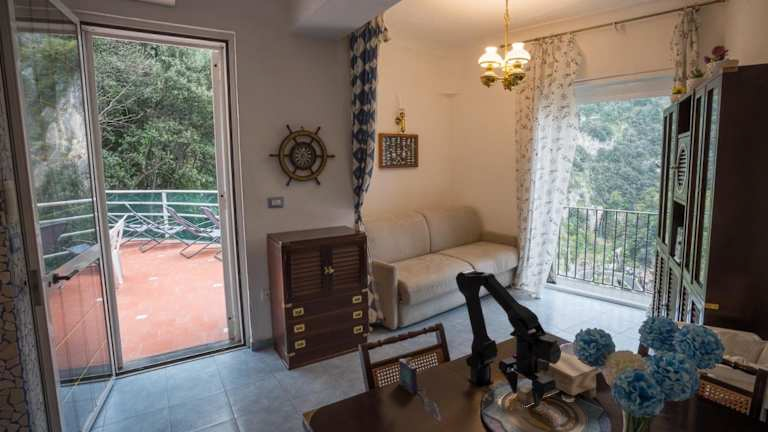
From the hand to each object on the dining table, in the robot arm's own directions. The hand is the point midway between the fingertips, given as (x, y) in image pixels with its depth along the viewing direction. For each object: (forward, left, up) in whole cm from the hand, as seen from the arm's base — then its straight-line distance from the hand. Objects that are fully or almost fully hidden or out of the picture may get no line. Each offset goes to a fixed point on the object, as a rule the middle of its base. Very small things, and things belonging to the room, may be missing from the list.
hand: (525, 399), depth 128 cm
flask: (-27, +27, -2) cm, 38 cm away
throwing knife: (-27, +15, -2) cm, 30 cm away
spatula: (+6, 0, -1) cm, 6 cm away
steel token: (+13, -5, -2) cm, 14 cm away
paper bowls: (+32, +5, -2) cm, 32 cm away
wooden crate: (+16, -1, -1) cm, 17 cm away
